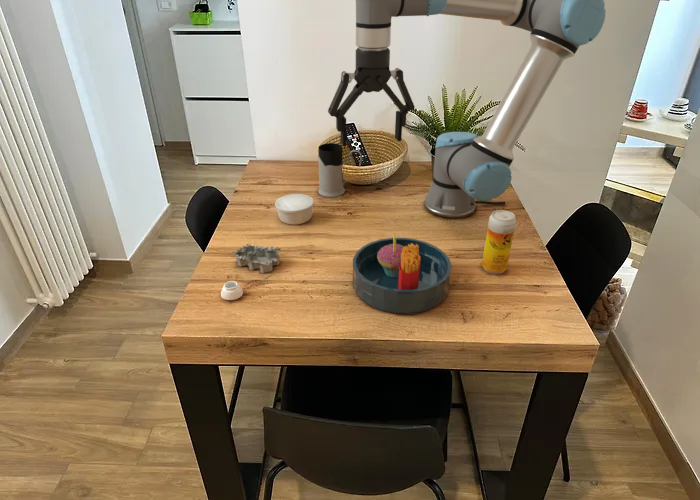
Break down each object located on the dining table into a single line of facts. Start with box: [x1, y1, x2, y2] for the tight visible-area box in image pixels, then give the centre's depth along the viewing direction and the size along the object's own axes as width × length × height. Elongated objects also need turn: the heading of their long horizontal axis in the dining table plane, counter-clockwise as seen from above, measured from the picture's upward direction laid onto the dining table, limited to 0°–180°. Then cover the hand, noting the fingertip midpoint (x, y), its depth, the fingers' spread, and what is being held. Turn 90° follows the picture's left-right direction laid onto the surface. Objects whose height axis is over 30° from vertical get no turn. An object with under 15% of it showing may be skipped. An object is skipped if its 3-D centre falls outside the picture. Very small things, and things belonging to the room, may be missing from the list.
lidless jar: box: [220, 280, 244, 301], centre depth 115 cm, size 5×3×5 cm
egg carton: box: [232, 243, 282, 274], centre depth 126 cm, size 11×8×4 cm
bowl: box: [352, 237, 453, 315], centre depth 117 cm, size 23×23×6 cm
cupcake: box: [377, 233, 405, 278], centre depth 119 cm, size 9×8×12 cm
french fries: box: [398, 243, 421, 290], centre depth 111 cm, size 8×4×12 cm, turn 161°
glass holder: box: [317, 142, 363, 198], centre depth 159 cm, size 9×14×15 cm, turn 94°
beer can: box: [481, 209, 517, 275], centre depth 120 cm, size 6×6×15 cm
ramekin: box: [274, 193, 315, 226], centre depth 146 cm, size 11×11×5 cm
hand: (371, 141), depth 119 cm, fingers open, 13 cm apart
